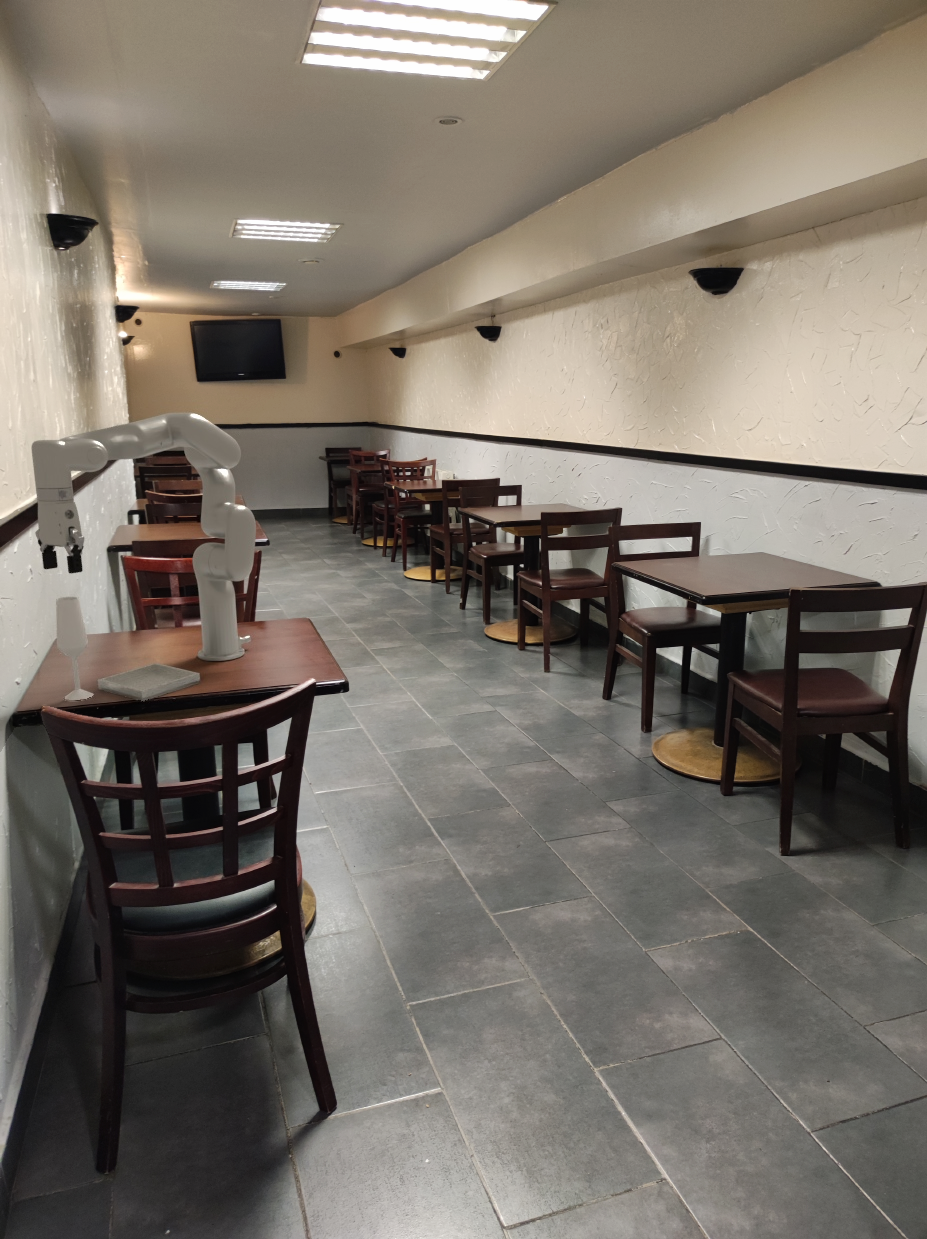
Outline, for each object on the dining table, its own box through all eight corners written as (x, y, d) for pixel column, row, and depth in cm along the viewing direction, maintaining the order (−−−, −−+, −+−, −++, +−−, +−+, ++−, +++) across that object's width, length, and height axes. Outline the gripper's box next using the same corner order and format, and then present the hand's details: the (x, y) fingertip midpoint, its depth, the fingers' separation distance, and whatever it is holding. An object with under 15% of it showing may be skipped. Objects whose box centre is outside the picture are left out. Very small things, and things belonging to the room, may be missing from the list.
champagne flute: (60, 702, 199) (48, 602, 193) (66, 693, 205) (54, 596, 200) (91, 700, 201) (80, 600, 195) (96, 691, 207) (85, 595, 201)
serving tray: (156, 672, 222) (155, 662, 222) (200, 682, 213) (199, 673, 213) (98, 689, 208) (97, 679, 208) (142, 701, 199) (141, 691, 199)
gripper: (93, 496, 190) (100, 571, 194) (48, 492, 199) (56, 564, 203) (62, 499, 184) (70, 576, 188) (17, 495, 193) (26, 569, 197)
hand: (63, 570), depth 196 cm, fingers open, 9 cm apart
